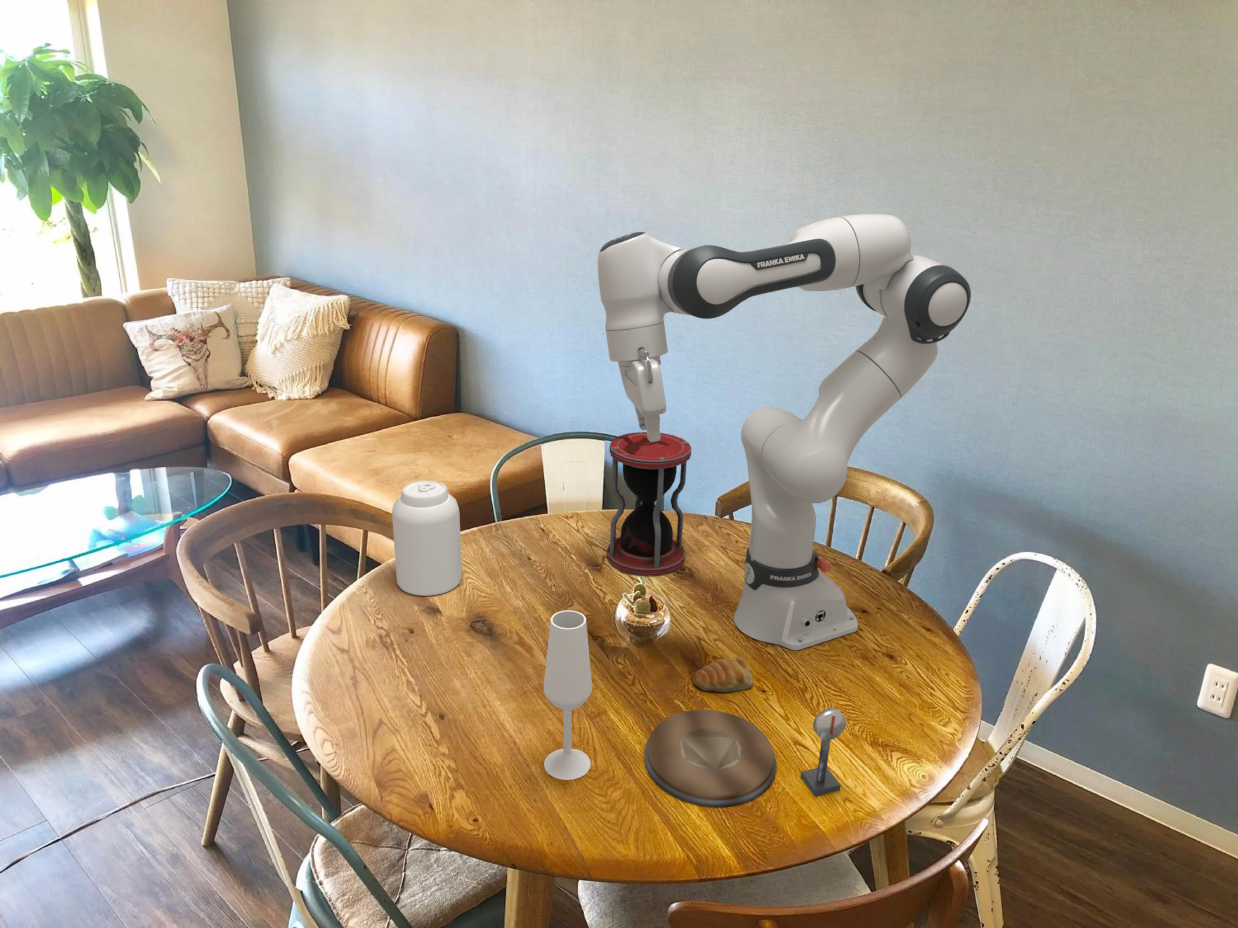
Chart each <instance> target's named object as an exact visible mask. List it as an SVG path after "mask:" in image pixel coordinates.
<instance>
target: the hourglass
mask: <svg viewBox="0 0 1238 928" xmlns="http://www.w3.org/2000/svg"><path fill="white" fill-rule="evenodd" d="M660 437H661V438H660V440H659V441H655V442H650V441H649V440H648V438H647V431H638V432H628V433H626V434H622V435H619V436H617V437H615V438H613V439H612V440H611V442H610V444H609V454H610V457H611V458H612V463H611V491H612V494H613V496H614V497H615V498H616V500H617V504H618V507H617V510H616V513H615V514H614V515H613V516H612V519H611V521H610V535H609V537H610V538H609V539H610V540H609V541H610V542H609V544H608V546H607V549H606V558H607V561H608V563H610V565H612V566H613V568H615V569H618V570H619V571H620V572H624V573H626V574H630V575H635V576H641V575H642V576H641V577H655V576H663V575H666V574H671V573H673V572H675V571H677V570H679V569H680V567H682V566H683V565H684V563H685V559H686V551H685V549H684V546H683V529H684V527H683V525H684V514H683V511H682V509H680V507H679V504H678V498H679V495H680V493H681V492H683V490H684V487H685V484H686V477H687V476H686V475H687V462H688V461H690V460H691V459H690V458H691V456H692V445H691V444H690V443H689V442H688V441H687V440H685V439H684V438H682V437H679V436H677V435H674V434H671V433H664V432H660ZM619 463H621V464H622V474H623V476H622V477H623V480H624V482H625V485H626V486H627V488H628V490H630V491H631V493H632V494H633V495H634V496H635V497H636V499H635V501H634V510H632V511H631V512H630V513H629V514H628V515H627V516H626V517H625V519H624V521H623V523H622V525H621V530H620V537H617V523H618V520H619V518H620V517H621V516H623V514H624V511H625V509H626V501H625V498H624V496H622V494H620V491H619V489H618V479H619V478H618V477H619V476H618V474H619V471H618V470H619ZM678 466H680V474H679V475H680V476H679V477H680V478H679V483H678V485H677V488H675V490H674V491H672V495H671V497H670V505H671V508H672V509H673V511H674V512H675V513H676V516H677V530H676V540H675V539H673V538H674V532H673V530H674V529H673V527H672V524H671V522H670V519H669V518H668V517H667V516H666V514H665V513H664V512H663V511H662V510H661V508H662V506H663V502H664V501H663V500H664V499H663V498H664V495H665V494H666V493H668V491H669V490H670V489H671V488H672V486H674V485H673V484H674V483H675V480H676V478H677V477H676V475H677V469H678V468H677V467H678Z"/></svg>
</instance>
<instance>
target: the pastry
mask: <svg viewBox="0 0 1238 928" xmlns="http://www.w3.org/2000/svg"><path fill="white" fill-rule="evenodd" d="M750 668H751V667H750V666H749V664H748V662H747V660H746V659H745V658H743V657H742V656H739V655H738V656H737V657H736V656H735V657H731V658H718V659H716V660H715V661H713V662H711V663H709V664H708V665H707V664H706V665H704V666H702V667H701V668H699V670H696V671H695V674H694V676H693V680H692V682H693V684H694V685H695V686H696V687H698V688H699V689H701V691H704V692H705V691H706V692H716V693H717V692H718V693H724V694H725V693H729V692H738V691H743V690H747V689H750V688H751V687H752V686H753V683H754V681H753V676H752V673H751V669H750Z"/></svg>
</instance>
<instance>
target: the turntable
mask: <svg viewBox="0 0 1238 928" xmlns="http://www.w3.org/2000/svg"><path fill="white" fill-rule="evenodd" d="M643 753H644V757H643V759H644V764H645V768H646V771H647V774H648V775H649V777H650V778H651V779H652V781H653V782H654V783H655V784H656V785H657V786H658V787H659V788H660V789H662V791H664V792H665V793H667V794H669V795H671V796H672V797H674V798H676V799H678V800H680V801H682V802H685V803H689V804H691V805H692V804H693V805H696V806H699V807H700V806H701V807H708V808H727V807H728V808H729V807H734V806H739V805H742V804H746V803H748V802H750V801H751V802H752V801H753V800H755V799H757V798H758V797H761V795H762V794H763V793H765V792H766V791H767V790H768V789H769V788H770V787H771V785H772V783H773V781H774V779H775V776H776V770H777V759H776V754H775V752H774V749H773V746H772V744H771V742H770V740H769V739H768V736H766V734H764V732H763V731H762V730H761V729H760V728H759V727H758V726H757V725H754V724H753V723H752V722H750V721H749V720H747V719H745V718H743V717H741V716H738V715H735V714H733V713H729V712H727V711H726V712H725V711H720V710H714V709H693V710H687V711H681V712H678V713H675V714H673V715H671V716H668V717H666V718H665V719H663V720H662V721H660V722H659V724H657V725H656V727H655V728H654V729H653V730H652V732H651V733H650V735H649V736H648V739H646V743H645V746H644V752H643Z"/></svg>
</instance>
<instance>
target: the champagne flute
mask: <svg viewBox="0 0 1238 928" xmlns="http://www.w3.org/2000/svg"><path fill="white" fill-rule="evenodd" d="M590 658H591V657H590V648H589V638H588V625H587V618H586V616H585V615H584V614H583V613H581V612H579V611H576V610H571V609H569V610H567V609H566V610H561V611H557V612H556V613H554V614H553V615H552V616H551V617H550V624H549V634H548V642H547V652H546V660H545V661H546V662H545V672H544V679H543V693H544V695H545V698H547V700H548V701H549V703H550V704H551V705H553V706H555V707H556V708H558V709H560V710H561V711H563V738H562V739H563V743H562V745H563V748H560V749H559V748H558V749H557V750H554V751H552V752H551V753H550V754H548V755H547V756H546V758H545V759H544V762H543V763H544V764H543V767H544V769H545V771H546V772H547V774H548V775H550V776H551V777H553V778H554V779H558V780H564V781H571V780H575V779H579V778H582V777H583V776H585V775H586V774H587V773H588V772H589V770H590V768H591V765H592V764H591V760H590V758H589V756H588V755H587V754H586V753H585V752H583V751H582V750H579V749H576V748H572V747H573V746H572V745H573V744H572V743H573V742H572V741H573V739H572V737H573V729H572V727H573V726H572V725H573V720H572V719H573V711H574V710H575V709H577V708H579V707H581V706H582V705H584V704H585V702H586V701H588V699H589V698H590V696H591V695H592V692H593V682H592V681H593V680H592V669H591V660H590Z"/></svg>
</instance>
